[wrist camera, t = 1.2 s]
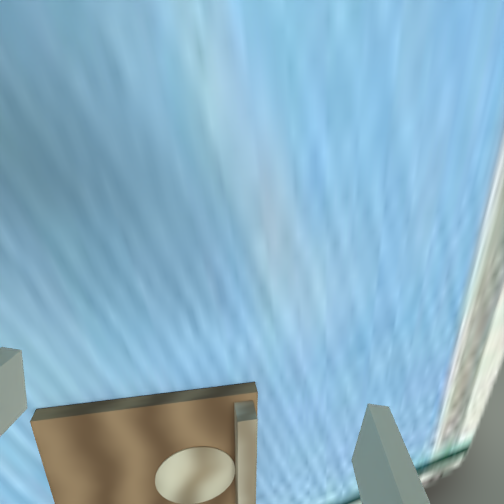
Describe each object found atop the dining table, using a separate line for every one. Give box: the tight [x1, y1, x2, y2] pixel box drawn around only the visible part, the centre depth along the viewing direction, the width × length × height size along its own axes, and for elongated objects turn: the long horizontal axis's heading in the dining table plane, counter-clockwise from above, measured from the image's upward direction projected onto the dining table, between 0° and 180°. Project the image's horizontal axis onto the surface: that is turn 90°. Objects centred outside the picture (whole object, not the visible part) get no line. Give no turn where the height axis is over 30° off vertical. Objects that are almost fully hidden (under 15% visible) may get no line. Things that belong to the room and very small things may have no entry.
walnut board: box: [30, 382, 258, 504], centre depth 37 cm, size 22×22×4 cm
